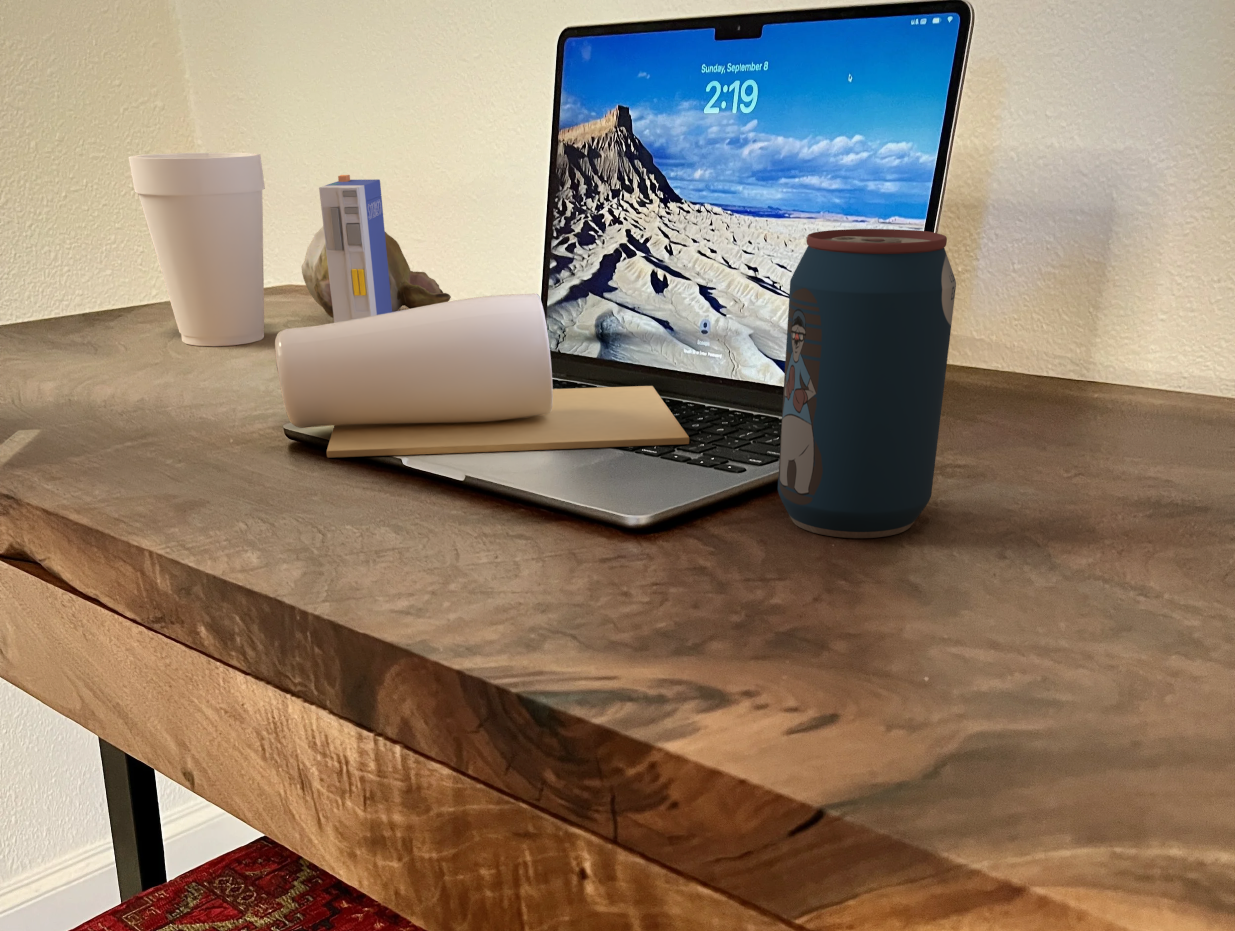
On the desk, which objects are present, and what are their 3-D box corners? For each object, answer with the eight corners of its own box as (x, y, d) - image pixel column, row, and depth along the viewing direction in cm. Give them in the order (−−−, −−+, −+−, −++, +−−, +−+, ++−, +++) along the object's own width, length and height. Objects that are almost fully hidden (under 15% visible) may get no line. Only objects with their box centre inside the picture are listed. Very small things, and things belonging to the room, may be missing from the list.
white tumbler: (264, 315, 67) (544, 289, 69) (276, 316, 73) (532, 292, 75) (288, 447, 70) (557, 418, 71) (297, 437, 76) (544, 411, 78)
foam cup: (159, 352, 96) (124, 159, 89) (163, 332, 104) (131, 153, 97) (287, 345, 98) (262, 156, 92) (281, 326, 106) (258, 151, 99)
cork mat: (327, 457, 69) (326, 450, 69) (343, 402, 81) (342, 395, 80) (689, 444, 71) (689, 437, 71) (652, 391, 83) (652, 385, 83)
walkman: (359, 350, 96) (341, 173, 90) (396, 350, 96) (379, 173, 90) (337, 371, 89) (315, 181, 83) (376, 371, 89) (357, 181, 83)
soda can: (950, 513, 59) (987, 232, 53) (890, 552, 54) (922, 248, 48) (817, 490, 63) (837, 223, 57) (749, 526, 58) (762, 238, 52)
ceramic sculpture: (382, 195, 112) (453, 220, 101) (390, 299, 117) (459, 332, 106) (265, 203, 107) (327, 229, 97) (278, 310, 112) (339, 346, 102)
